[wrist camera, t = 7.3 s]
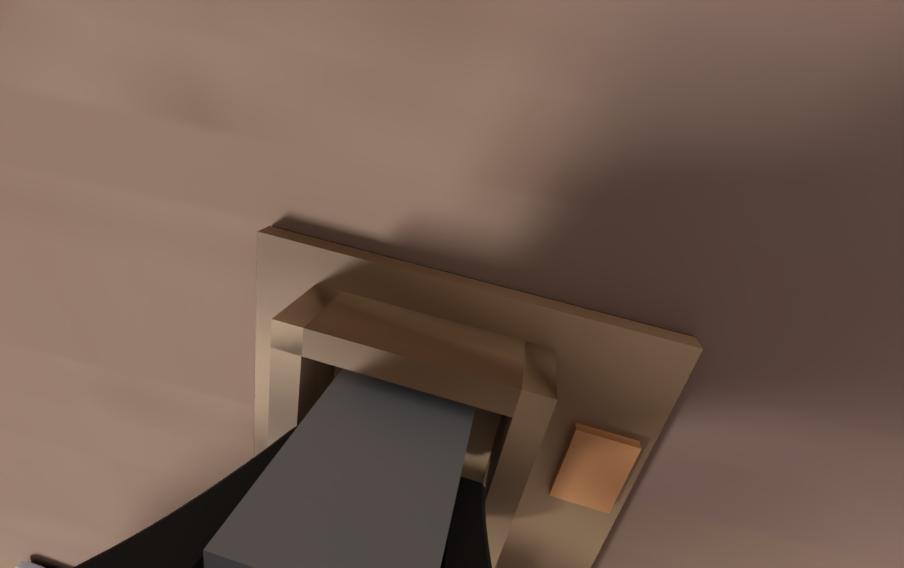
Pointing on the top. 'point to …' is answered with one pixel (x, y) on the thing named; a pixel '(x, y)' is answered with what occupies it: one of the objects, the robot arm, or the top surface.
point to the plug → (354, 484)
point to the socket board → (476, 382)
